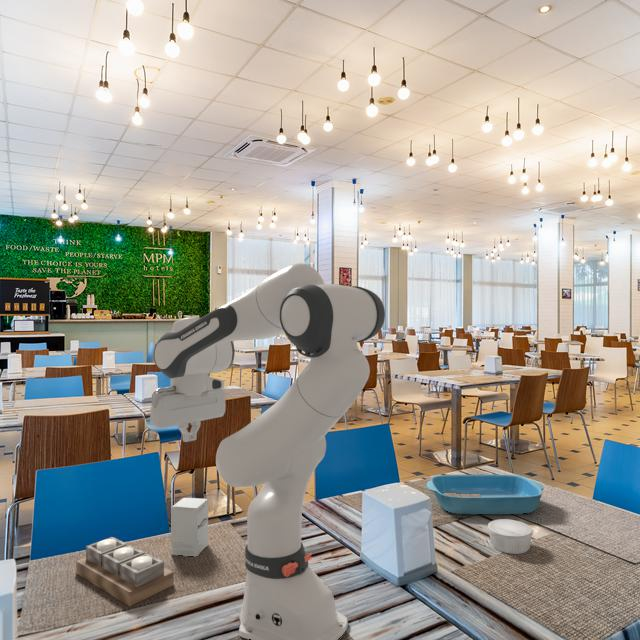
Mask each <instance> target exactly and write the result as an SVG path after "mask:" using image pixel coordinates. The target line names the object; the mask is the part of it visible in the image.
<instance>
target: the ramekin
mask: <svg viewBox="0 0 640 640" xmlns="http://www.w3.org/2000/svg"><path fill="white" fill-rule="evenodd" d="M487 530H488V534H489V539H490V544H491V545H492V547H493V548H494V549H495V550H497V551H498V552H502V553H505V554H508V555H511V554H512V555H522V554H525V553H527V552H528V551H529V550H530V548H531V543H532V537H533V534H534V530H533V528H532V527H531V526H530V525H528V524H527V523H524V522H522V521H519V520H514V519H507V518H504V519H502V518H501V519H500V518H499V519H495V520H491V521H490V522H488V523H487Z"/></svg>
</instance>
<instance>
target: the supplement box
mask: <svg viewBox="0 0 640 640" xmlns="http://www.w3.org/2000/svg"><path fill="white" fill-rule="evenodd" d="M170 509H171V510H170V513H171V514H170V518H171V519H170V521H171V522H170V524H171V525H170V529H171V530H170V534H171V535H170V541H171V542H170V544H171V545H170V547H171V548H170V552H171V553H170V554H171V556H178V555H183V556H182V557H188V556H194V557H193V558H197V557H198V556H199V555H200V554H201V552H203V550H204V549H205V548H206V547H207V546H209V515H208V514H209V500H208V498H199V497H198V498H197V497H183V498H181V499H180V500H179V501H177V502H175V504H174V505H172V506H171V508H170ZM196 556H197V557H196Z"/></svg>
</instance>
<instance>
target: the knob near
mask: <svg viewBox="0 0 640 640" xmlns="http://www.w3.org/2000/svg"><path fill="white" fill-rule="evenodd" d="M151 565H152V558H151V557H149V556H141V557H137V558H135V559H133V560H132V568H134V569H135V570H137V571H139V570H141V569H144V568H146V567H148V566H151Z"/></svg>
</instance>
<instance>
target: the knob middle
mask: <svg viewBox="0 0 640 640" xmlns="http://www.w3.org/2000/svg"><path fill="white" fill-rule="evenodd" d="M113 555H114V558H115V559H116V560H118V561H121V560H123V559H126V558H128V557H131V556H133V555H134V549H133V548H130V547H124V548H120V549H117V550H115V551H114V553H113Z"/></svg>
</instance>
